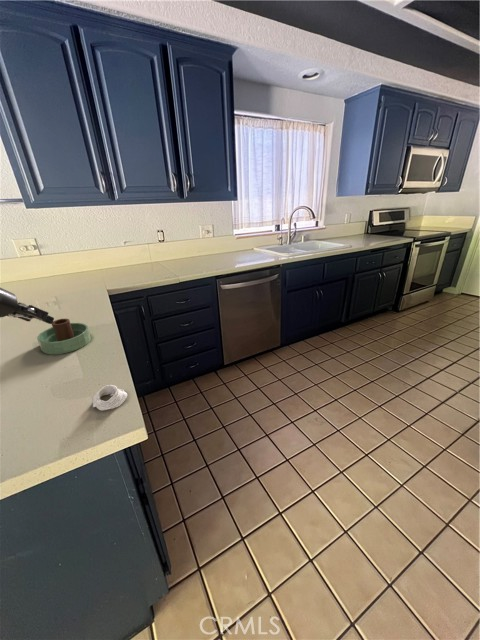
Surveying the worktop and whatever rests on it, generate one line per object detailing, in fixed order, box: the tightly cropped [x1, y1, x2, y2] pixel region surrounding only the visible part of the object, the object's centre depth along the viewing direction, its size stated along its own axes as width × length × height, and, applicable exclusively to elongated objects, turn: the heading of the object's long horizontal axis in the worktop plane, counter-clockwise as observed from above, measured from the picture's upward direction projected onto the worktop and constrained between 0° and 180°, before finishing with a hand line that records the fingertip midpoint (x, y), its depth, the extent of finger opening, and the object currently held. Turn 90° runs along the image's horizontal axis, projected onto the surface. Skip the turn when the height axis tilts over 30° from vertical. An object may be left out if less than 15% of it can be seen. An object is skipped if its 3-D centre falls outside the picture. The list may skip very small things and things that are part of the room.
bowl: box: [36, 322, 92, 355], centre depth 94 cm, size 15×15×5 cm
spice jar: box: [51, 318, 74, 342], centre depth 93 cm, size 5×5×8 cm
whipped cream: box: [92, 384, 128, 411], centre depth 67 cm, size 8×7×5 cm
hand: (41, 319), depth 84 cm, fingers open, 8 cm apart
